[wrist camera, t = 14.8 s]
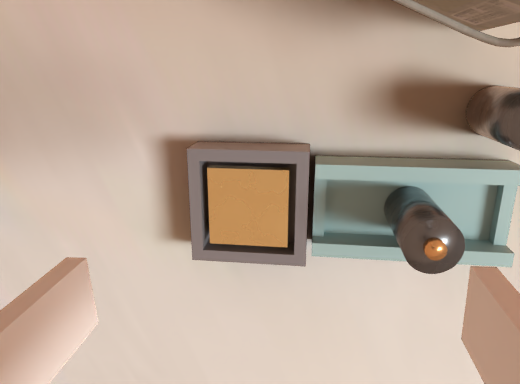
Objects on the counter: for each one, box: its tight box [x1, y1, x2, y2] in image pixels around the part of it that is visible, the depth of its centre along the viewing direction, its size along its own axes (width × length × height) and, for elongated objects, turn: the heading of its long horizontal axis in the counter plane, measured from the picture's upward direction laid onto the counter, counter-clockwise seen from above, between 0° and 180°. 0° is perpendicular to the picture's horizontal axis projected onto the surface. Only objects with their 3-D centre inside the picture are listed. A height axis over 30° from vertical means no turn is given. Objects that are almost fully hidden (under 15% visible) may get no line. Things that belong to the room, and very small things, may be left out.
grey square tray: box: [187, 141, 310, 266], centre depth 36 cm, size 10×10×4 cm
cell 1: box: [384, 186, 465, 274], centre depth 31 cm, size 4×4×9 cm
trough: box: [312, 155, 520, 267], centre depth 34 cm, size 8×16×4 cm, turn 90°
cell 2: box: [466, 86, 520, 150], centre depth 29 cm, size 4×4×9 cm
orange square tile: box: [207, 165, 290, 247], centre depth 35 cm, size 7×7×1 cm
